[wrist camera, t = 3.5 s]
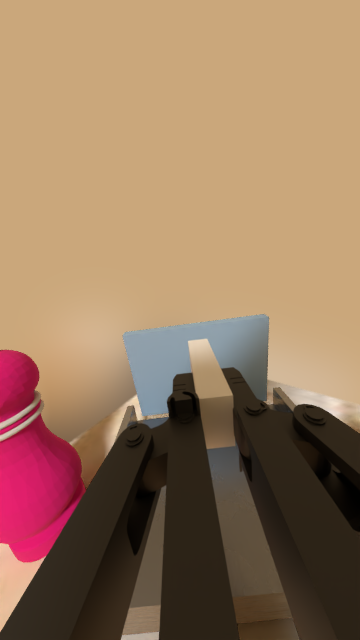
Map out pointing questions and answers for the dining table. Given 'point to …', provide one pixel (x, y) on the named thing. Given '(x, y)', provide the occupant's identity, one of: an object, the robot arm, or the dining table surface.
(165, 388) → the panel
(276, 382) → the dining table surface
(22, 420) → the pepper mill
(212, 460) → the cart bed
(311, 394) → the dining table surface
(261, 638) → the dining table surface
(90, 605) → the robot arm
